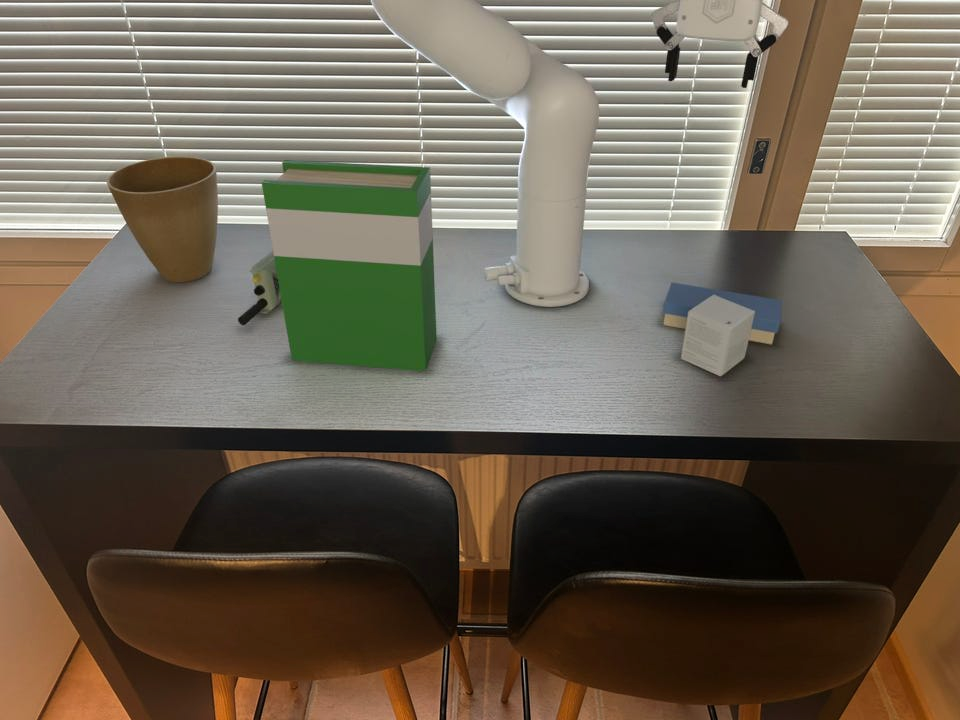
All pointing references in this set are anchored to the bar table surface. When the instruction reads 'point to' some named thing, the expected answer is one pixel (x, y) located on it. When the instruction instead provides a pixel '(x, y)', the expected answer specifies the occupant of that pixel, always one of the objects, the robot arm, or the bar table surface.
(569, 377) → the bar table surface
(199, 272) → the plant pot
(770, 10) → the robot arm
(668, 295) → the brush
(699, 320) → the product box
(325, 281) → the hardback book
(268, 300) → the handheld radio
